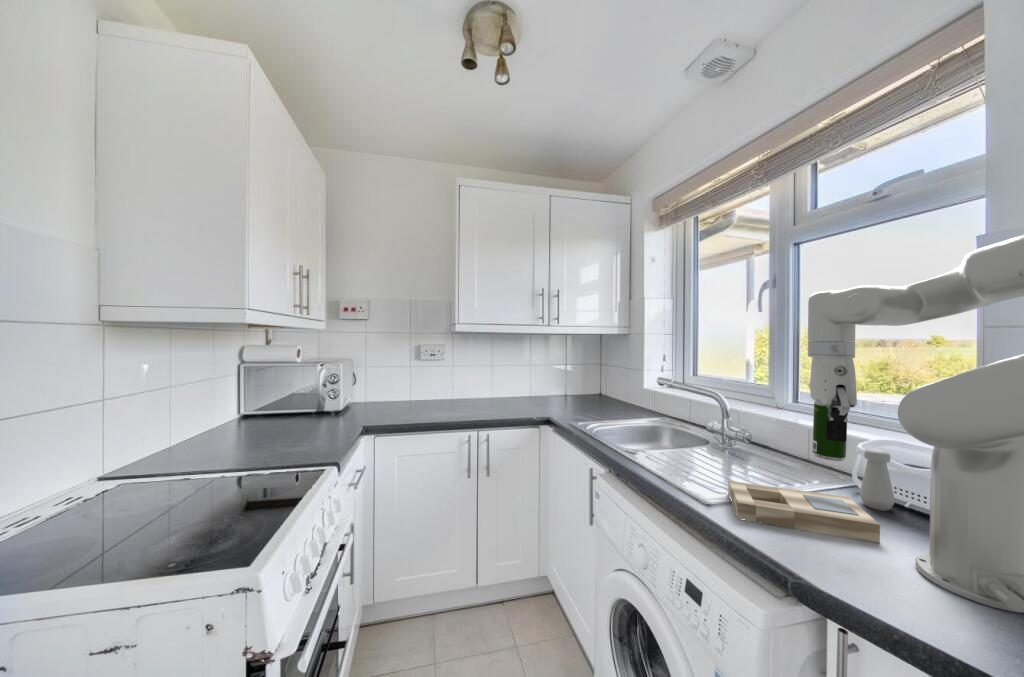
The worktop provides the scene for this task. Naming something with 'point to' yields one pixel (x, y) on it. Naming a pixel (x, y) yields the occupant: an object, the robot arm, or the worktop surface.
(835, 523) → the can block
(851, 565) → the worktop surface
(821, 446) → the beer can
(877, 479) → the salt shaker
